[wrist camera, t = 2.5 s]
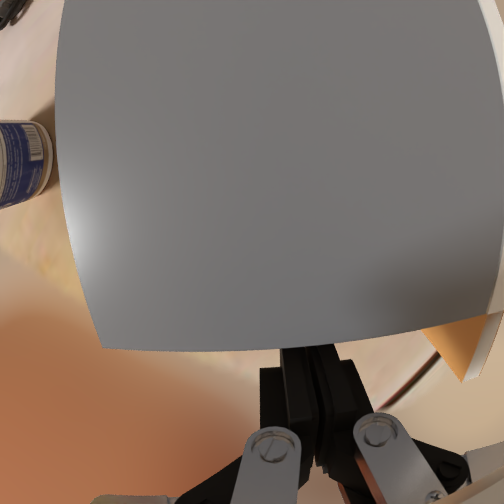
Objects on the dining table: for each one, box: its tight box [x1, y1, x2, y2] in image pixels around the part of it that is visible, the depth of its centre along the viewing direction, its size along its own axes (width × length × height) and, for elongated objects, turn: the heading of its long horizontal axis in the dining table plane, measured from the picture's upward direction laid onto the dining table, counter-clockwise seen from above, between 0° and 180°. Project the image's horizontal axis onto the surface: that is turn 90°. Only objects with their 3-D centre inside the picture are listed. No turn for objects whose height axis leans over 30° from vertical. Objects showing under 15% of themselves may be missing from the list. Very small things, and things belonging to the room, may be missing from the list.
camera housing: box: [55, 0, 504, 352], centre depth 9 cm, size 16×12×9 cm
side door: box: [421, 0, 504, 383], centre depth 9 cm, size 18×1×9 cm, turn 4°
